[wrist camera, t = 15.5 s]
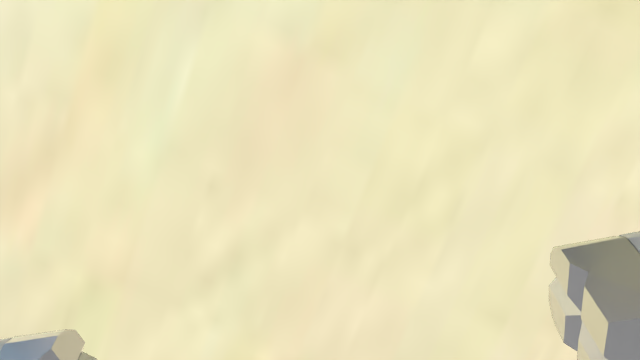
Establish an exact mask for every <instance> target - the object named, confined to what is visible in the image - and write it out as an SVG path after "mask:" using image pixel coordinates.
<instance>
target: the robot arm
mask: <svg viewBox="0 0 640 360" xmlns="http://www.w3.org/2000/svg"><path fill="white" fill-rule="evenodd" d="M550 266H551V268H552V270H553V272H554V273H555V275H556V278H555V279H554V280H553V281H552V283H551V284H550V285H549V304H550V309H551V313H552V318H553V320H554V323H555V326H556V328H557V331H558V332H559V334H560V336H561V338H562V340H563V342H564V343H565V344H567V345H568V346H570V347H571V348H573V349H574V350H576V351H578V352H577V360H640V231H639V232H634V233H628V234H623V235H619V236H612V237H607V238H601V239H595V240H590V241H584V242H578V243H573V244H567V245H562V246H556V247H553V249H552V252H551V256H550ZM84 344H85V342H84V340H83V339H82V338H81V336H80V335H79V334H78V333H77V331H76V330H67V329H65V330H58V331H51V332H44V333H37V334H30V335H23V336H16V337H14V338H6V339H0V360H97V359H96V358H94V357H92V356H90V355H88V354H86V353H84V352H83V348H84Z"/></svg>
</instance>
